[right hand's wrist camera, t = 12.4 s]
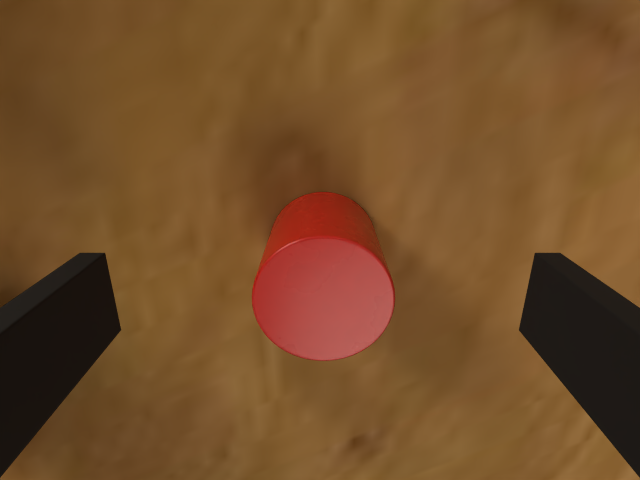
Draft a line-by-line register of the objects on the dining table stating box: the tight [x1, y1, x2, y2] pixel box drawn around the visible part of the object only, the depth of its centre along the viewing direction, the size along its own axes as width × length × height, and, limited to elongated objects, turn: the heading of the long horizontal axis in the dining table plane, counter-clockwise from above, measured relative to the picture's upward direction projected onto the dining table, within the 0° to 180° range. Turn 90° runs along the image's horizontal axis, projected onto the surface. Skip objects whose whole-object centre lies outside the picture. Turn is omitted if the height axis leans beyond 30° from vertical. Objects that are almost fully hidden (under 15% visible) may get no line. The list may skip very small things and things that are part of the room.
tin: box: [252, 192, 395, 361], centre depth 13 cm, size 4×4×5 cm
